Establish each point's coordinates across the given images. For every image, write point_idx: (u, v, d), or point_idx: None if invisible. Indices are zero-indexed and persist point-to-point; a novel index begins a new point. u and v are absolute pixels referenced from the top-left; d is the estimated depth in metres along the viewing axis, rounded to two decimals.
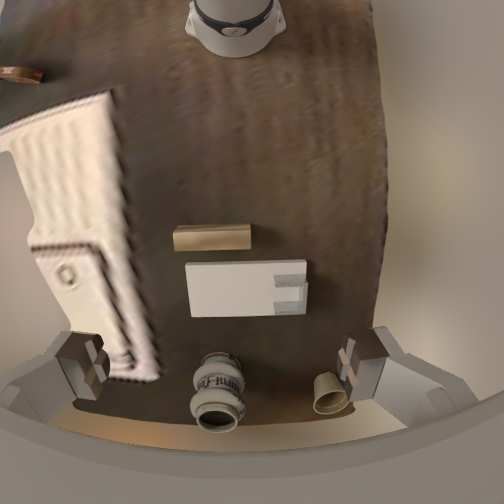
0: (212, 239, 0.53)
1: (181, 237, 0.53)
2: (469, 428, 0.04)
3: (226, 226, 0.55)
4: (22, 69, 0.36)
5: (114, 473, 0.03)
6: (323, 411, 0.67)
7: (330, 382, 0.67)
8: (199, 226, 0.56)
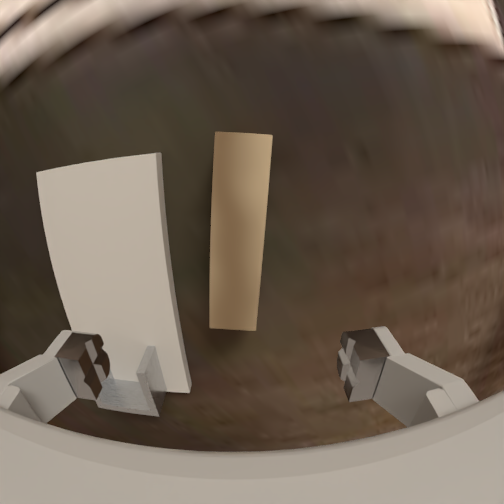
0: (241, 244, 0.20)
1: (255, 158, 0.18)
2: (469, 428, 0.04)
3: None
4: None
5: (114, 473, 0.03)
6: None
7: None
8: None
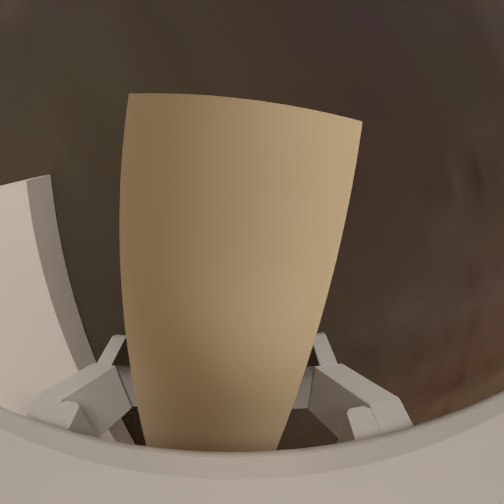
0: (222, 437, 0.06)
1: (287, 210, 0.04)
2: (469, 428, 0.04)
3: None
4: None
5: (114, 473, 0.03)
6: None
7: None
8: None
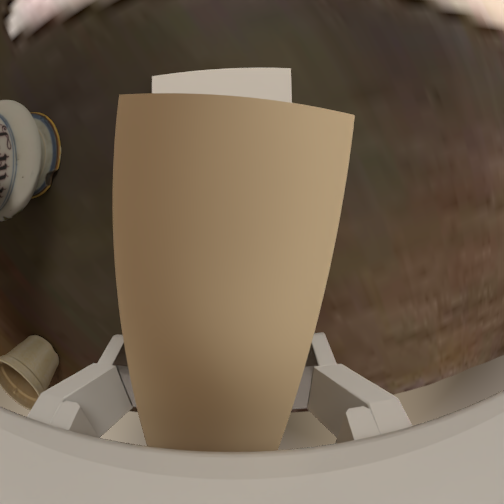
0: (223, 438, 0.06)
1: (280, 206, 0.04)
2: (469, 428, 0.04)
3: None
4: None
5: (114, 473, 0.03)
6: None
7: (46, 372, 0.30)
8: None
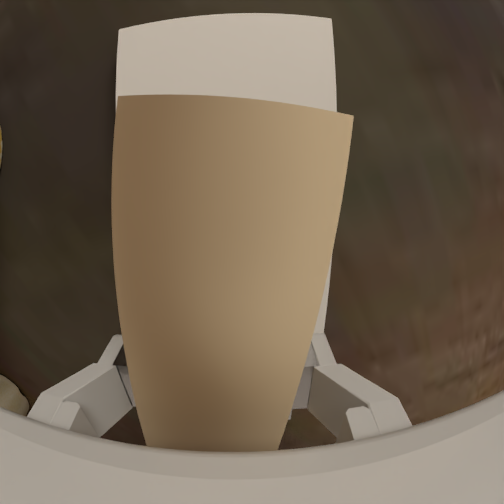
0: (222, 439, 0.06)
1: (279, 207, 0.04)
2: (469, 428, 0.04)
3: None
4: None
5: (114, 473, 0.03)
6: None
7: None
8: None
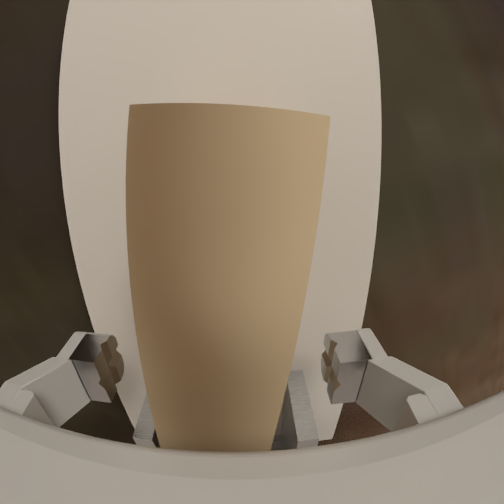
0: (224, 414, 0.07)
1: (268, 196, 0.05)
2: (469, 428, 0.04)
3: None
4: None
5: (114, 473, 0.03)
6: None
7: None
8: None
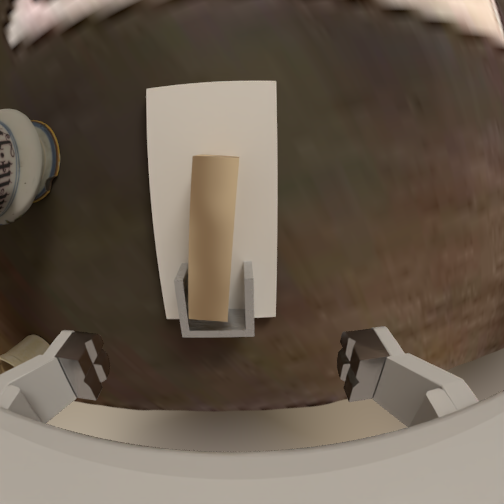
0: (213, 248, 0.24)
1: (225, 177, 0.22)
2: (469, 428, 0.04)
3: None
4: None
5: (114, 473, 0.03)
6: None
7: None
8: None
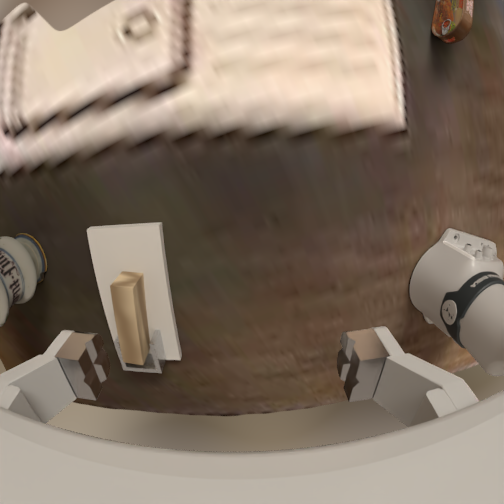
0: (128, 330, 0.40)
1: (127, 297, 0.38)
2: (469, 428, 0.04)
3: (144, 332, 0.44)
4: (467, 27, 0.24)
5: (114, 473, 0.03)
6: None
7: None
8: (142, 303, 0.43)
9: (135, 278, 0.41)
